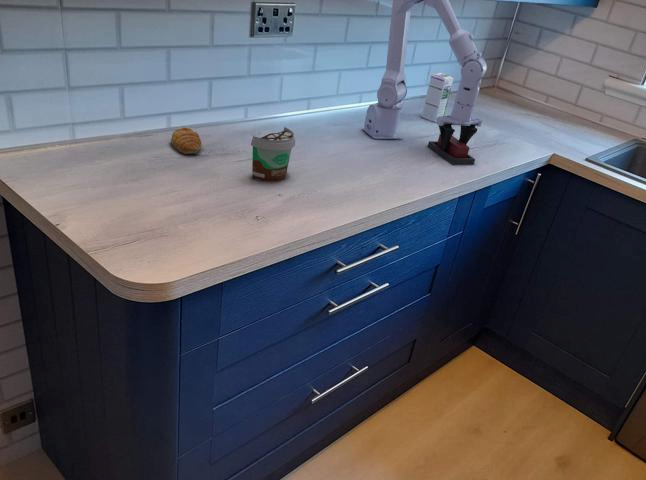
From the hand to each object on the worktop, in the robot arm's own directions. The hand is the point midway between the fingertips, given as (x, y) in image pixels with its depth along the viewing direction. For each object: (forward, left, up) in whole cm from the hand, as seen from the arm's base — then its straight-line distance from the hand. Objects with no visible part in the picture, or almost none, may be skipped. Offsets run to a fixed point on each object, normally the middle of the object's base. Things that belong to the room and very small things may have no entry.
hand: (451, 149), depth 173 cm
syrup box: (+14, +32, -2) cm, 35 cm away
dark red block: (0, 0, -1) cm, 1 cm away
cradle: (0, 0, -2) cm, 2 cm away
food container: (-59, -13, -2) cm, 60 cm away
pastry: (-75, +5, -2) cm, 75 cm away
